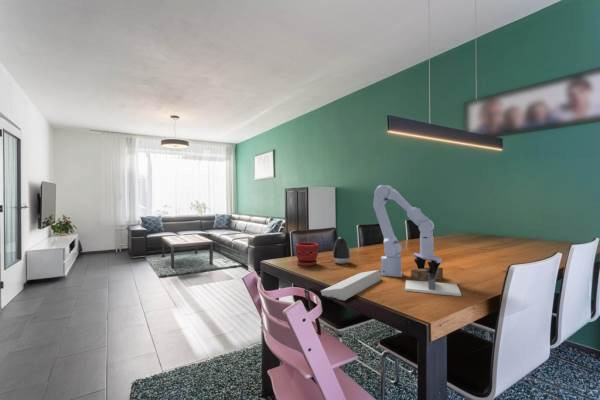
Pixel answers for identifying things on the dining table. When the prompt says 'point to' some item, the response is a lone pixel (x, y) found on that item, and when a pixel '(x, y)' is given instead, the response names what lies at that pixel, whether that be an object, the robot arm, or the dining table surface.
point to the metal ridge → (431, 281)
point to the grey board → (439, 289)
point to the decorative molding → (352, 285)
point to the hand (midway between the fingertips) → (427, 275)
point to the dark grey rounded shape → (341, 251)
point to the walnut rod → (425, 274)
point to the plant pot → (306, 253)
